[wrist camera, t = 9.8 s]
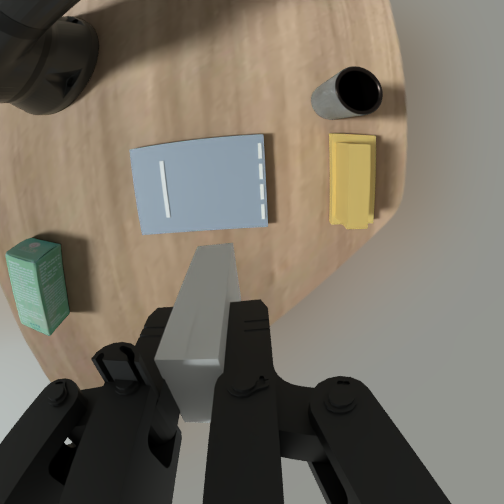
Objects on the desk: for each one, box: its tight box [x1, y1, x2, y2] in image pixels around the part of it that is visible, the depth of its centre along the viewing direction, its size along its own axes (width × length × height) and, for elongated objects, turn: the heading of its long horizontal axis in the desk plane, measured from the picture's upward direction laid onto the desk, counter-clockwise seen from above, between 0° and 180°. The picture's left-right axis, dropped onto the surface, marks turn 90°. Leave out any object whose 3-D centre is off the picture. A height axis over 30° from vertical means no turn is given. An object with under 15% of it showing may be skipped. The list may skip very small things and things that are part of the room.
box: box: [6, 238, 70, 336], centre depth 35 cm, size 7×14×8 cm, turn 170°
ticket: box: [130, 134, 268, 235], centre depth 33 cm, size 11×16×1 cm
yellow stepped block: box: [329, 134, 376, 229], centre depth 30 cm, size 11×6×6 cm, turn 3°
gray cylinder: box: [311, 67, 383, 120], centre depth 25 cm, size 4×4×10 cm
